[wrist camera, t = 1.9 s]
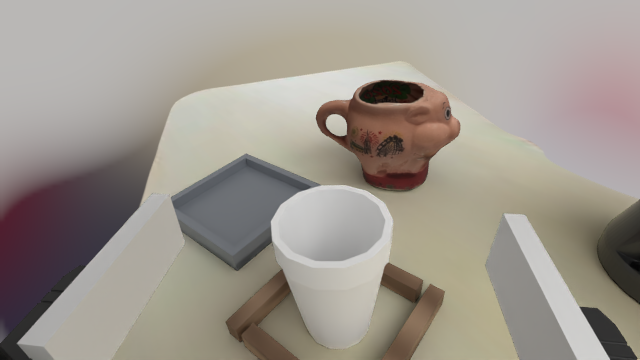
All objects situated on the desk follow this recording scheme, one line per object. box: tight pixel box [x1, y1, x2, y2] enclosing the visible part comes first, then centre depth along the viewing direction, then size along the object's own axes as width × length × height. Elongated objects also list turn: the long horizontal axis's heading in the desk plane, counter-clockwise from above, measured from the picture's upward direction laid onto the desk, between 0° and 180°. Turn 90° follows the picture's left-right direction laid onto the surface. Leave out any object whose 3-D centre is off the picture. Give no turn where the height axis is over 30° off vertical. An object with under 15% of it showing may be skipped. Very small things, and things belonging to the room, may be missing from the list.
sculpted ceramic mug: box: [316, 80, 460, 190], centre depth 50 cm, size 20×12×14 cm, turn 81°
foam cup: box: [271, 185, 393, 349], centre depth 30 cm, size 10×9×13 cm
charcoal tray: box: [171, 154, 321, 271], centre depth 48 cm, size 16×16×2 cm
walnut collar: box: [226, 263, 445, 360], centre depth 34 cm, size 15×15×2 cm
